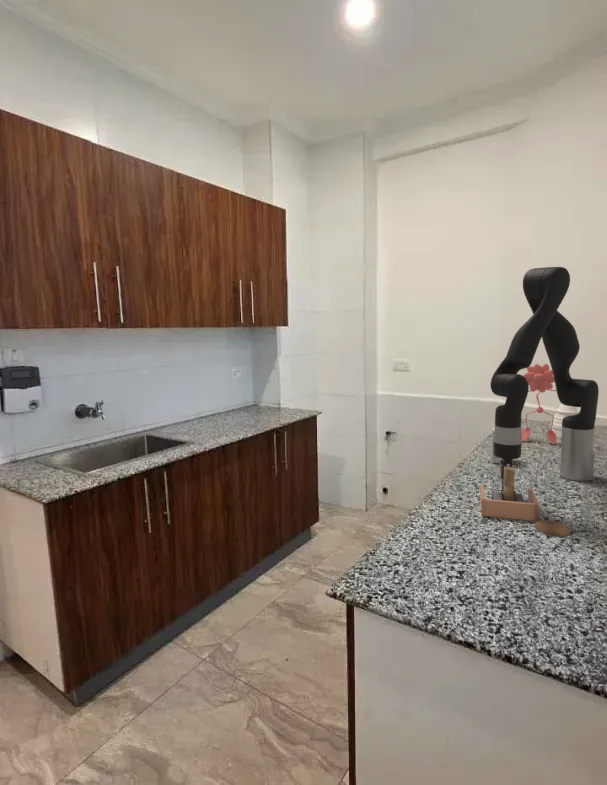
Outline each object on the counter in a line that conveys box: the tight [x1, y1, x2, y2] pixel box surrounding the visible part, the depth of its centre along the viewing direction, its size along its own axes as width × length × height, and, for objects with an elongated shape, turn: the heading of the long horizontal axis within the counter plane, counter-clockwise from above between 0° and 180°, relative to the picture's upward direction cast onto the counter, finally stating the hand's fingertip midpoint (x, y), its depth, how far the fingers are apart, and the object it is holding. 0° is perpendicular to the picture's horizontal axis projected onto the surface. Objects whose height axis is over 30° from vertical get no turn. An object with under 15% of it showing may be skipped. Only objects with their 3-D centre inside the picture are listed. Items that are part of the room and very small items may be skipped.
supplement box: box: [490, 426, 502, 464], centre depth 170 cm, size 7×7×13 cm
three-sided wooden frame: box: [479, 483, 540, 522], centre depth 127 cm, size 14×13×4 cm
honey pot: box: [550, 403, 580, 439], centre depth 205 cm, size 13×13×18 cm
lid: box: [534, 519, 572, 537], centre depth 114 cm, size 8×8×1 cm
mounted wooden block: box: [491, 467, 526, 502], centre depth 126 cm, size 8×8×12 cm
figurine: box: [521, 363, 561, 451], centre depth 190 cm, size 15×26×35 cm, turn 54°
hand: (505, 496), depth 134 cm, fingers closed
